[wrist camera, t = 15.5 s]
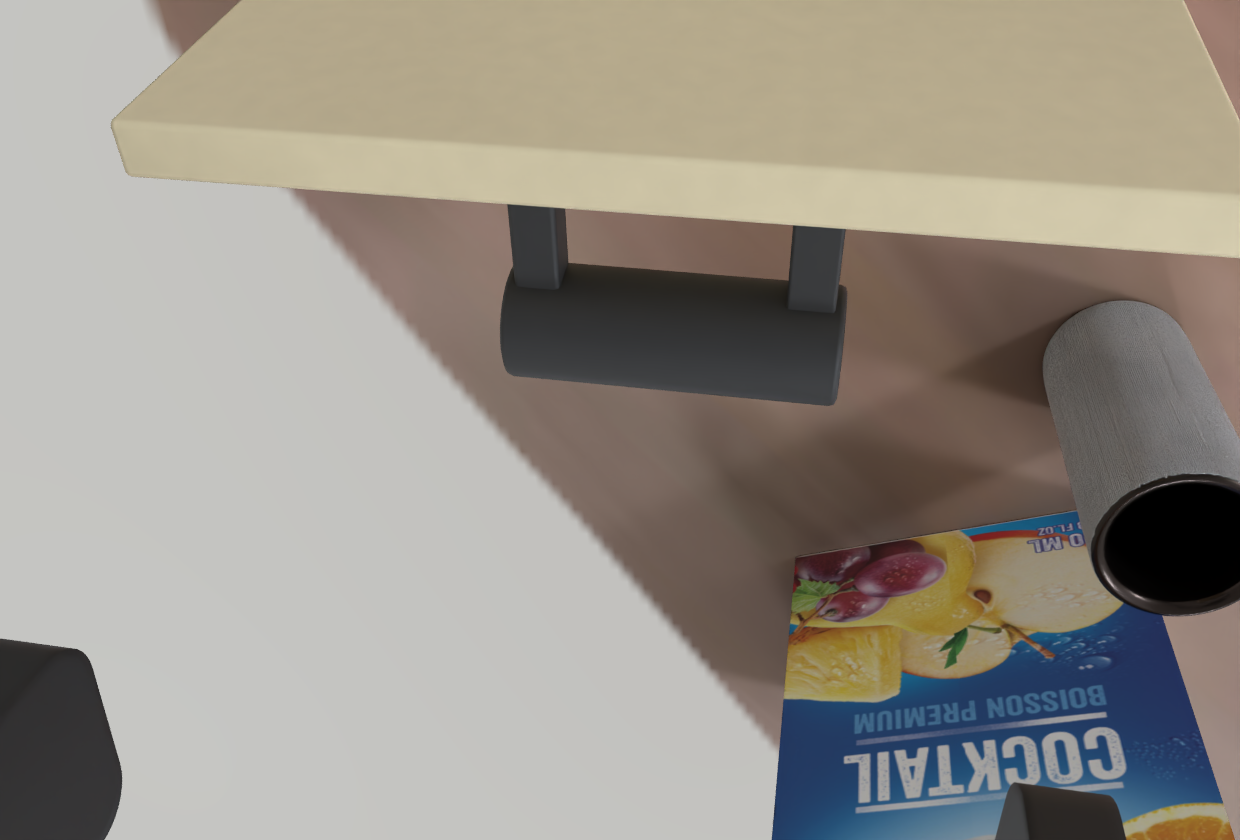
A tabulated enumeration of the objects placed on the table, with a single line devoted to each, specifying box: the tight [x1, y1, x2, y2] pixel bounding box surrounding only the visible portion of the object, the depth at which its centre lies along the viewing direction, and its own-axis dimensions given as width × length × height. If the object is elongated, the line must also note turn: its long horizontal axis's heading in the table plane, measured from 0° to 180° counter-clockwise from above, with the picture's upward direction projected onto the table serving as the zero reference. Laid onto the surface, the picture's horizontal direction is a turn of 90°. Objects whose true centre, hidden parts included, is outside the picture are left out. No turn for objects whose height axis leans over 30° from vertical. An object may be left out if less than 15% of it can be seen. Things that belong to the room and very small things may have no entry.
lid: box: [111, 0, 1240, 406], centre depth 21 cm, size 16×14×5 cm
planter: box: [1043, 300, 1240, 616], centre depth 34 cm, size 4×4×10 cm
